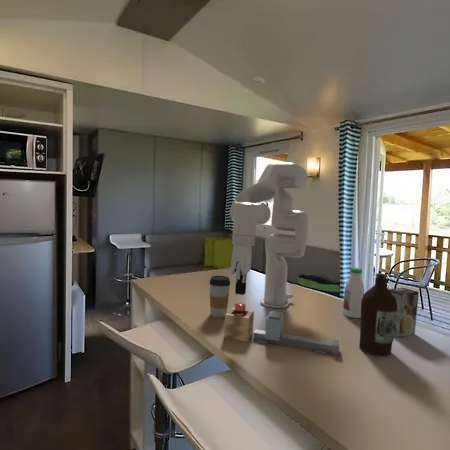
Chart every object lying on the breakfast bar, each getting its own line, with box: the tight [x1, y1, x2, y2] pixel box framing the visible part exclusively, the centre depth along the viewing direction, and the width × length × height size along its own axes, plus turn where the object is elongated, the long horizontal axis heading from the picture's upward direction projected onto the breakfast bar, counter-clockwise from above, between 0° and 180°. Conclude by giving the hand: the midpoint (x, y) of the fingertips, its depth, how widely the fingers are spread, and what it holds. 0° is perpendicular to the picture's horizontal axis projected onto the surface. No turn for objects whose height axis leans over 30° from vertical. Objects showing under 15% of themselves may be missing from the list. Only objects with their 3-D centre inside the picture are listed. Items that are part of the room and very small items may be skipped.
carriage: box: [265, 310, 284, 341], centre depth 113 cm, size 4×7×8 cm, turn 162°
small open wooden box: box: [223, 307, 255, 343], centre depth 117 cm, size 8×8×8 cm
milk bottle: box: [342, 267, 365, 319], centre depth 142 cm, size 8×8×20 cm
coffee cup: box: [209, 275, 231, 318], centre depth 136 cm, size 8×8×15 cm
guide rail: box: [252, 328, 340, 357], centre depth 112 cm, size 27×6×3 cm, turn 72°
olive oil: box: [359, 272, 397, 357], centre depth 110 cm, size 11×11×25 cm
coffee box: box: [388, 287, 419, 338], centre depth 126 cm, size 9×6×16 cm
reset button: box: [234, 302, 247, 316], centre depth 117 cm, size 4×4×5 cm
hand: (240, 293), depth 116 cm, fingers closed
